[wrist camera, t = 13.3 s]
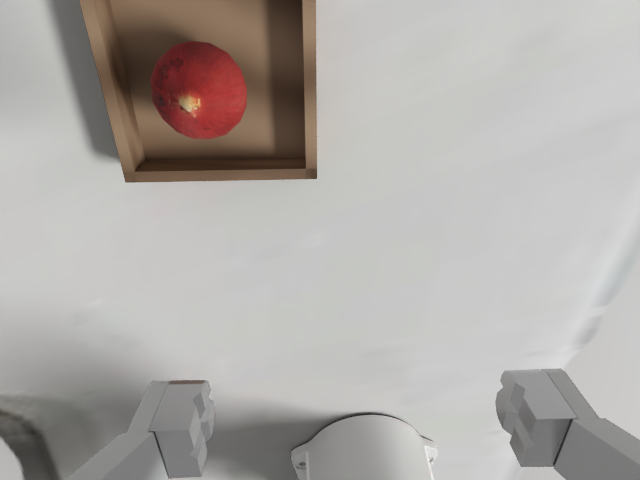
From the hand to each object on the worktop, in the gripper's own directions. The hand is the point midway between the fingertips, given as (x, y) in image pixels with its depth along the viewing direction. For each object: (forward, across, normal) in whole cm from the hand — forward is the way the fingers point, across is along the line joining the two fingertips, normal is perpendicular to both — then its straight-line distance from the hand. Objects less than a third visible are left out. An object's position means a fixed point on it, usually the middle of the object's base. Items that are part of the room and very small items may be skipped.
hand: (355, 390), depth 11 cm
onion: (+23, +8, -6) cm, 25 cm away
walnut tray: (+24, +8, -6) cm, 26 cm away
